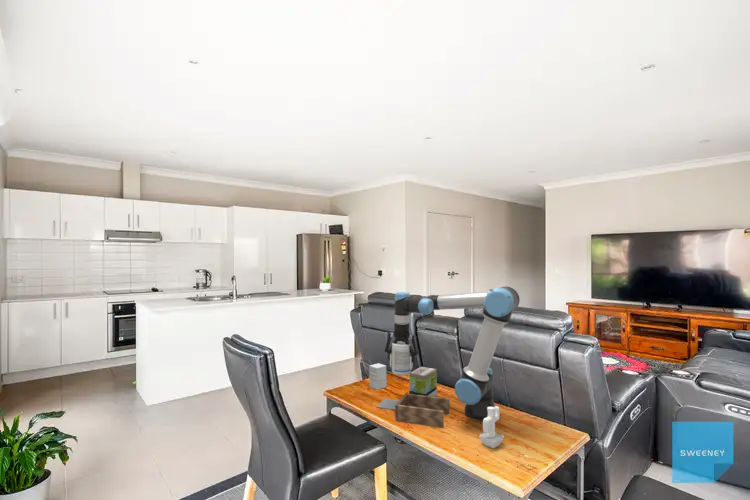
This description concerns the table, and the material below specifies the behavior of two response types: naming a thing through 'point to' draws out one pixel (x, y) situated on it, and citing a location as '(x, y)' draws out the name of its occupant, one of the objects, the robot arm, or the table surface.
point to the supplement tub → (400, 358)
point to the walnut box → (422, 410)
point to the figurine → (491, 428)
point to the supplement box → (377, 376)
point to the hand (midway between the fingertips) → (401, 367)
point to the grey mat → (388, 404)
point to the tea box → (423, 382)
